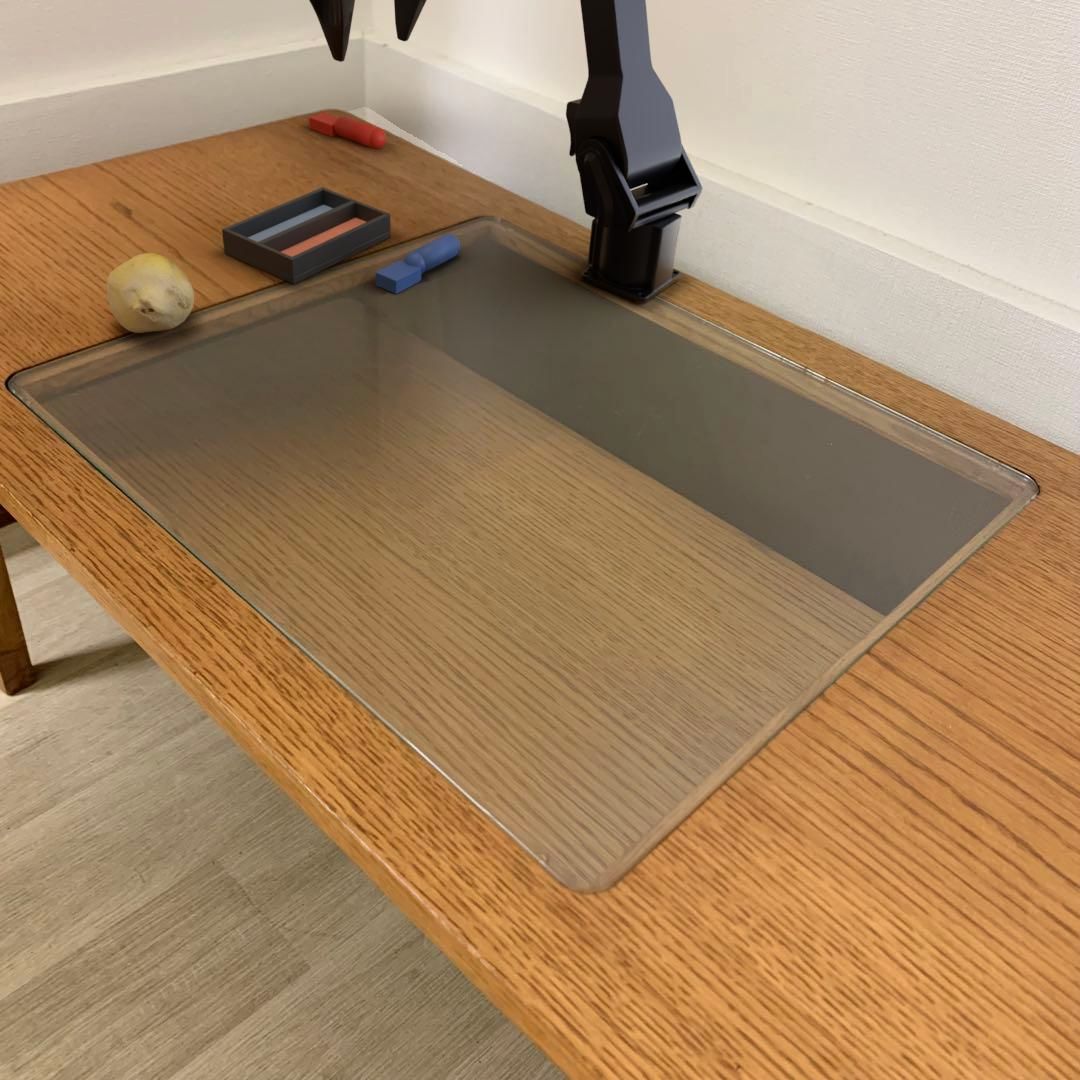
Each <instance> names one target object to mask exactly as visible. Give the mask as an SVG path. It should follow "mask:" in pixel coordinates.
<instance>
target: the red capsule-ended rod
mask: <svg viewBox="0 0 1080 1080" xmlns="http://www.w3.org/2000/svg"><path fill="white" fill-rule="evenodd" d="M308 120H309V129H310V130H314V131H315V132H318V133H321V134H324V135H326V136H328V137H332V138H333V137H336V136H340V137H343V138H345V139H348V140H351V141H353V142H356V143H359V144H362V145H364V146H367V147H370V148H372V149H380V148H382V147H384V145H385V144H386V142H387V135H386V133H385V131H384V130H383V129H381V128H380V127H377V126H375V125H371V124H369V123H366V122H363V121H361V120H357V119H355V118H352V117H350V116H346V115H340V116H336V115H332V114H331V113H327V112H325V111H324V112H320V113H317V114H313V115H311V116H309V117H308Z"/></svg>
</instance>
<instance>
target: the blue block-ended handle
mask: <svg viewBox="0 0 1080 1080" xmlns="http://www.w3.org/2000/svg"><path fill="white" fill-rule="evenodd" d="M460 250H461V242H460V240H459V238H458V237H457V236H456V235H454V234H452V233H445V234H443V235H441V236H439V237H437V238H435V239H433V240H431V241H429V242H427V243H425V244H423V245H421V246H419V247H417V248H415V249H413V250H411V251H409V252H408V253H407V254H405V257H404V258H403V259H399V260H396V261H394V262H393V263H391V264H389V265H387V266H385V267H382V268H381V269H379V270H377V271H375V286H376V287H379V288H381V289H383V290H385V291H388V292H390V293H392V294H395V295H397V294H399V293H401V292H402V291H405V290H407V289H408V288H410V287H412V286H414V285H415V284H418V283H419V282H421V281H422V274H424V273H426V272H428V271H430V270H432V269H434V268H436V267H438V266H440V265H441V264H444V263H446V262H447V261H449V260H452V258H454V257H456V256H457V255H458V254H459V252H460Z"/></svg>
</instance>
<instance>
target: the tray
mask: <svg viewBox="0 0 1080 1080" xmlns="http://www.w3.org/2000/svg"><path fill="white" fill-rule="evenodd" d="M391 224H392V223H391V213H389V212H387V211H385V210H382V209H379V208H377V207H374V206H372V205H369V204H367V203H364V202H361V201H359V200H357V199H354V198H351V197H348V196H346V195H344V194H341V193H338V192H336V191H334V190H331V189H329V188H326V187H319V188H317V189H314V190H313V191H310V192H307V193H305V194H303V195H300V196H298V197H296V198H292V199H291V200H289V201H286V202H283V203H282V204H281V203H280V204H279V205H277V206H274V207H271V208H269V209H267V210H265V211H262V212H260V213H258V214H255V215H253V216H250V217H248V218H246V219H243V220H241V221H238V222H235V223H233V224H231V225H229V226H226V227H224V228H222V229H221V233H222V242H223V243H222V244H223V251H224V254H225V255H227V256H229V257H232V258H233V259H235V260H239V261H241V262H243V263H245V264H247V265H249V266H252V267H254V268H256V269H259V270H261V271H263V272H265V273H268V274H269V275H272V276H274V277H277V278H278V279H281V280H282V281H285V282H287V283H290V284H292V285H296V284H298V283H300V282H302V281H303V280H306V279H308V278H310V277H312V276H314V275H316V274H318V273H321V272H322V271H325V270H326V269H328V268H330V267H333V266H334V265H336V264H339V263H340V262H343V261H345V260H347V259H349V258H351V257H353V256H355V255H357V254H359V253H361V252H363V251H366V250H367V249H370V248H371V247H374V246H375V245H378V244H379V243H382V242H383V241H386V240H388V239H390V238H391V237H392V236H391V235H392V234H391V229H392V228H391V227H392V226H391Z"/></svg>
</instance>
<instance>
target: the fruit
mask: <svg viewBox="0 0 1080 1080" xmlns="http://www.w3.org/2000/svg"><path fill="white" fill-rule="evenodd" d="M106 297H107V303H108V305H109V308H110V311H111V313H112V315H113V317H114V318H115V319H116V321H117V322H118V324H120V325H121V327H123V328H124V329H125V330H127V331H129V332H131V333H134V334H143V333H152V332H161V331H168V330H172V329H175V328H176V327H178V326H180V325H181V324H183V323H184V322H186V320H187V318H188V317H189V315H190V314H191V313H192V310H193V309H194V302H195V290H194V288H193V286H192V284H191V281H190V280H189V278H188V277H187V275H186V274H185V273H184V271H183V270H182V269H181V268H180V267H179V266H178V264H177V263H175V262H174V261H173V260H171V259H170V258H167V257H166V256H163V255H160V254H158V253H153V252H144V253H140V254H137V255H135V256H133V257H131V258H130V259H128V260H127V261H125V262H123V263H122V264H120V265H118V266H117V267H116V268H115V269H113V270H112V271H111V272H110V273H109V275H108V276H107V279H106Z"/></svg>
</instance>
